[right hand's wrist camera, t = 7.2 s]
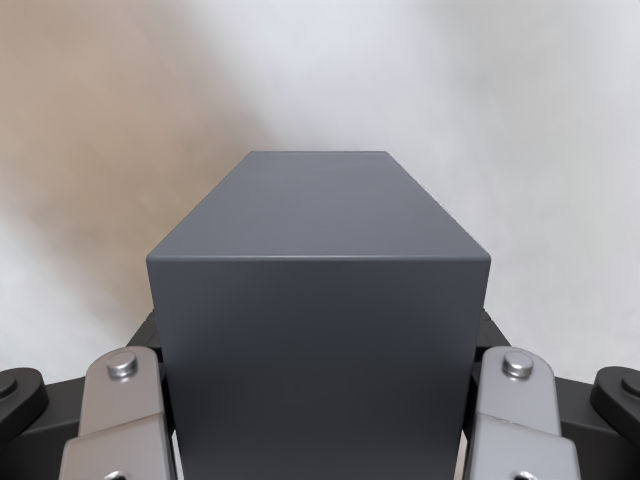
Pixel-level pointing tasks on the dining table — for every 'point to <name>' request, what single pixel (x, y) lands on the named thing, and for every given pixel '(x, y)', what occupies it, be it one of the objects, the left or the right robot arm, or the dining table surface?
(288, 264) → the box
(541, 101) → the dining table surface
